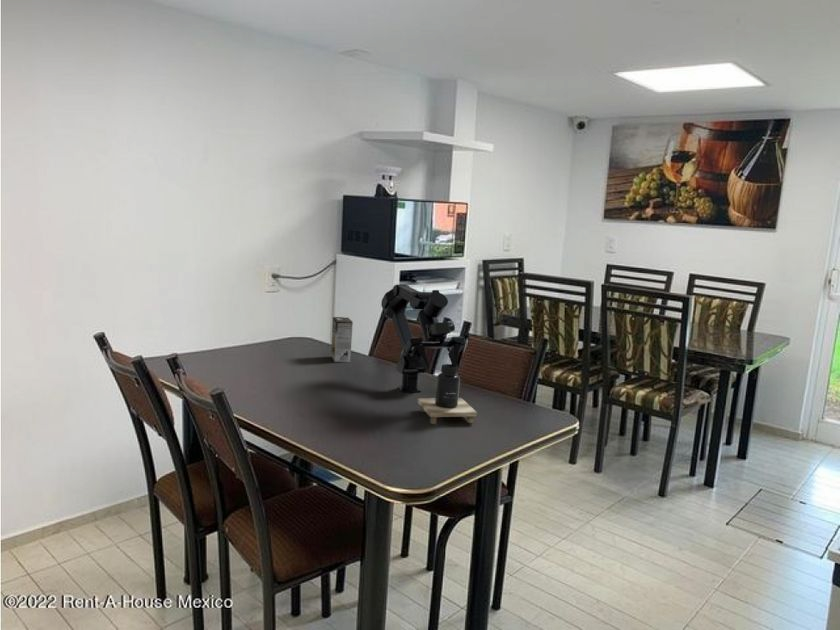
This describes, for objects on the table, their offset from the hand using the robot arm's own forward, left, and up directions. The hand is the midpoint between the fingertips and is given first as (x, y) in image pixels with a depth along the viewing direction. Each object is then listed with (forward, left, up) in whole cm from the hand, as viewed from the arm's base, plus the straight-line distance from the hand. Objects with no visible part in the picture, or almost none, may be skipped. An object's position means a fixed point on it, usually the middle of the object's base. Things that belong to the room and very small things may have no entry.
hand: (442, 369), depth 192 cm
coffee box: (-66, -20, -14) cm, 71 cm away
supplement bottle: (+5, +1, -10) cm, 11 cm away
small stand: (+5, +1, -13) cm, 14 cm away
